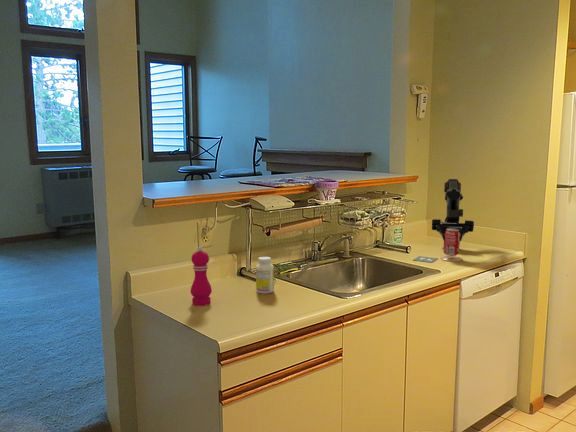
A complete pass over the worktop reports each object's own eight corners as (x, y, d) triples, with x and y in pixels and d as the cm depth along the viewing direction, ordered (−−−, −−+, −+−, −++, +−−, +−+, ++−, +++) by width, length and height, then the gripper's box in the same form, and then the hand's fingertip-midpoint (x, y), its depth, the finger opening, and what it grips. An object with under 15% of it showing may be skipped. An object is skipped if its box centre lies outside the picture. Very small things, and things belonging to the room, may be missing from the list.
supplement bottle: (265, 287, 209) (265, 255, 207) (277, 291, 204) (277, 257, 202) (252, 291, 204) (252, 257, 202) (264, 295, 200) (264, 261, 197)
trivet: (443, 255, 261) (443, 255, 261) (465, 258, 256) (465, 257, 256) (437, 260, 253) (437, 259, 253) (459, 262, 247) (459, 261, 247)
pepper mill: (193, 299, 195) (191, 244, 191) (213, 299, 194) (212, 244, 191) (189, 306, 187) (187, 249, 184) (210, 306, 187) (208, 249, 184)
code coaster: (419, 256, 260) (419, 256, 260) (437, 258, 255) (437, 258, 255) (412, 260, 252) (412, 259, 252) (431, 262, 247) (431, 262, 247)
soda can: (454, 252, 258) (456, 227, 256) (461, 256, 251) (463, 230, 249) (440, 252, 257) (442, 227, 255) (447, 256, 250) (449, 230, 248)
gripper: (432, 202, 256) (431, 229, 248) (474, 203, 251) (474, 231, 243) (432, 215, 265) (431, 243, 256) (472, 217, 260) (473, 245, 252)
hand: (452, 240), depth 252 cm, fingers closed on soda can, 7 cm apart
